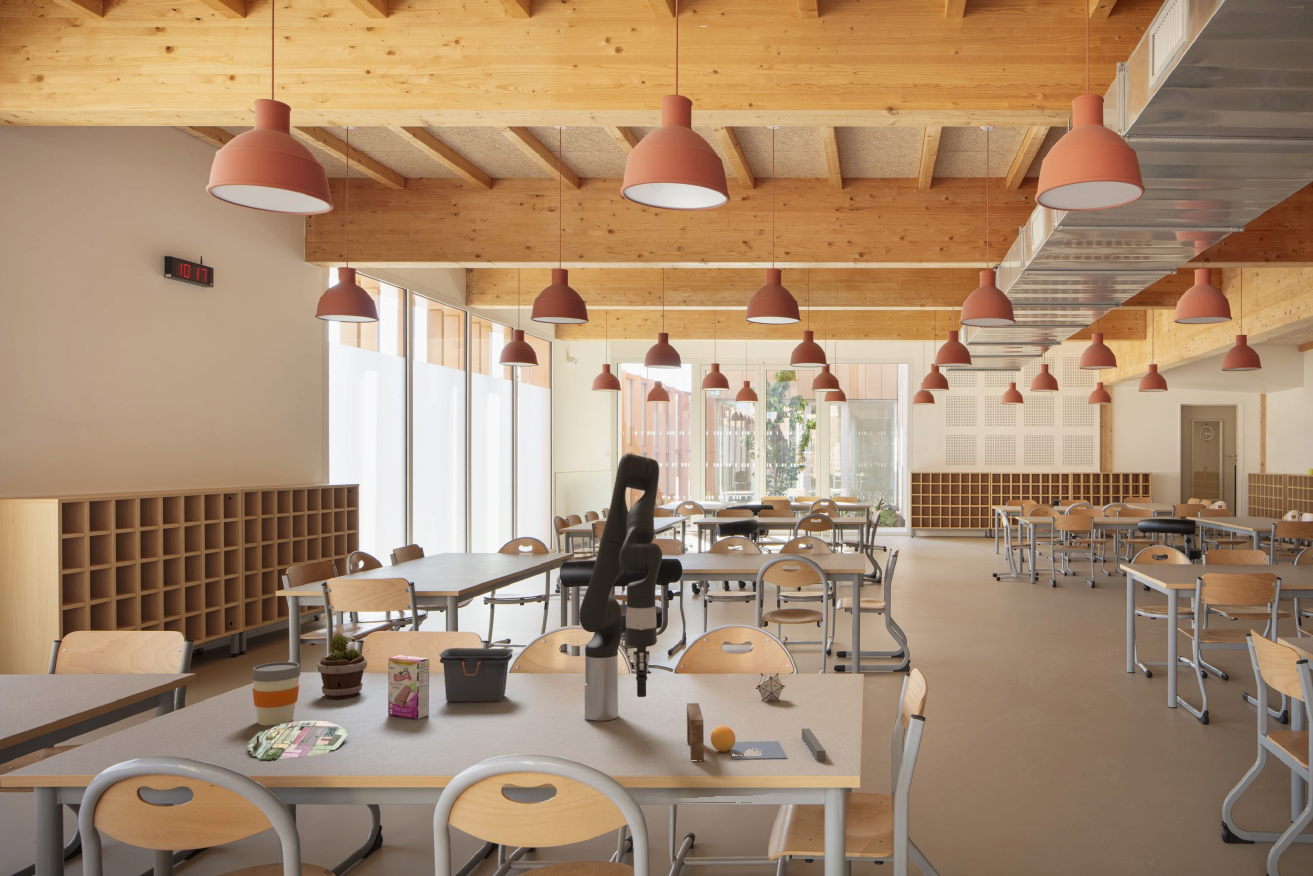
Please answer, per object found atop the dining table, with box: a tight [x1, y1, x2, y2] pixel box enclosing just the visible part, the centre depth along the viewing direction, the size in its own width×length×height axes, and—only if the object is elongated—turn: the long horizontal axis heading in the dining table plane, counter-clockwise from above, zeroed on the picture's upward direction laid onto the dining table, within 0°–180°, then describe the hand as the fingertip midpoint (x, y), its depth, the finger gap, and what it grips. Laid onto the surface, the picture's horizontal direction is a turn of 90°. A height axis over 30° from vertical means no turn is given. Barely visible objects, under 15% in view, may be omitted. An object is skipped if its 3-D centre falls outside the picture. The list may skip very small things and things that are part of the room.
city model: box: [247, 720, 349, 761], centre depth 216 cm, size 25×24×6 cm
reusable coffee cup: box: [251, 661, 302, 726], centre depth 240 cm, size 12×12×15 cm
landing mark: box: [729, 740, 788, 760], centre depth 210 cm, size 13×13×1 cm
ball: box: [710, 725, 736, 753], centre depth 210 cm, size 6×6×6 cm
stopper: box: [801, 728, 826, 762], centre depth 210 cm, size 2×18×2 cm, turn 2°
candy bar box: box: [387, 654, 430, 720], centre depth 244 cm, size 11×5×16 cm, turn 65°
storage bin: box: [438, 647, 514, 703], centre depth 261 cm, size 21×16×14 cm
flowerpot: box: [316, 631, 368, 700], centre depth 268 cm, size 14×15×20 cm
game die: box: [755, 672, 786, 702], centre depth 257 cm, size 9×8×10 cm
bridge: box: [686, 702, 705, 762], centre depth 210 cm, size 3×15×10 cm, turn 2°
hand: (641, 696), depth 210 cm, fingers closed
